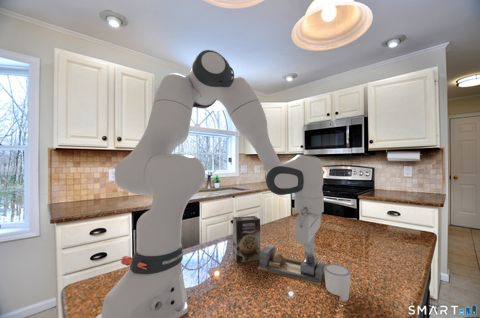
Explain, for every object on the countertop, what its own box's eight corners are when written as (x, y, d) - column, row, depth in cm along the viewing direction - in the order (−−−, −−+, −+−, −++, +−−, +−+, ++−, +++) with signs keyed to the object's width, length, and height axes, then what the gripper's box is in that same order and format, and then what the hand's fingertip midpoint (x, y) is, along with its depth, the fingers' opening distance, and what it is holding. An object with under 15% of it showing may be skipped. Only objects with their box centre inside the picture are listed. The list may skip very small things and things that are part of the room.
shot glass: (343, 287, 64) (343, 263, 64) (356, 302, 57) (356, 275, 57) (320, 288, 64) (319, 263, 64) (330, 303, 57) (330, 276, 57)
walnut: (281, 269, 72) (281, 257, 72) (270, 266, 74) (270, 254, 74) (285, 264, 75) (285, 252, 76) (274, 261, 77) (274, 250, 78)
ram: (314, 279, 66) (313, 240, 66) (300, 276, 67) (300, 238, 68) (318, 269, 72) (317, 234, 72) (305, 266, 74) (305, 232, 74)
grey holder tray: (319, 290, 63) (319, 267, 63) (256, 273, 73) (256, 253, 73) (325, 273, 72) (325, 253, 72) (269, 260, 82) (269, 242, 82)
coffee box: (236, 267, 77) (236, 220, 77) (232, 259, 83) (232, 216, 83) (261, 263, 79) (260, 219, 80) (255, 256, 86) (254, 215, 86)
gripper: (312, 212, 59) (312, 264, 59) (324, 201, 77) (324, 240, 77) (289, 210, 62) (289, 259, 62) (306, 199, 80) (306, 237, 80)
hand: (309, 248), depth 70 cm, fingers closed on ram, 3 cm apart
